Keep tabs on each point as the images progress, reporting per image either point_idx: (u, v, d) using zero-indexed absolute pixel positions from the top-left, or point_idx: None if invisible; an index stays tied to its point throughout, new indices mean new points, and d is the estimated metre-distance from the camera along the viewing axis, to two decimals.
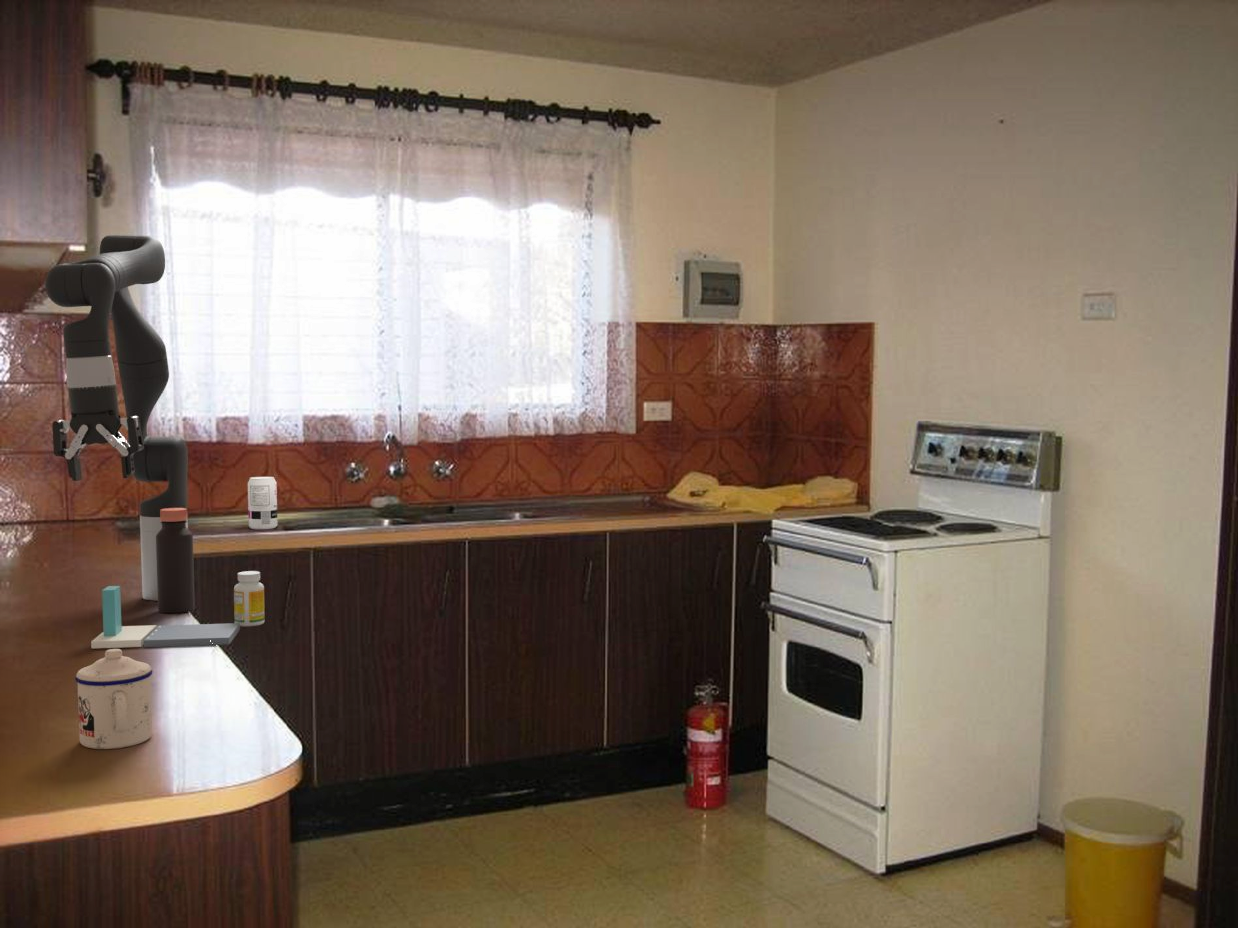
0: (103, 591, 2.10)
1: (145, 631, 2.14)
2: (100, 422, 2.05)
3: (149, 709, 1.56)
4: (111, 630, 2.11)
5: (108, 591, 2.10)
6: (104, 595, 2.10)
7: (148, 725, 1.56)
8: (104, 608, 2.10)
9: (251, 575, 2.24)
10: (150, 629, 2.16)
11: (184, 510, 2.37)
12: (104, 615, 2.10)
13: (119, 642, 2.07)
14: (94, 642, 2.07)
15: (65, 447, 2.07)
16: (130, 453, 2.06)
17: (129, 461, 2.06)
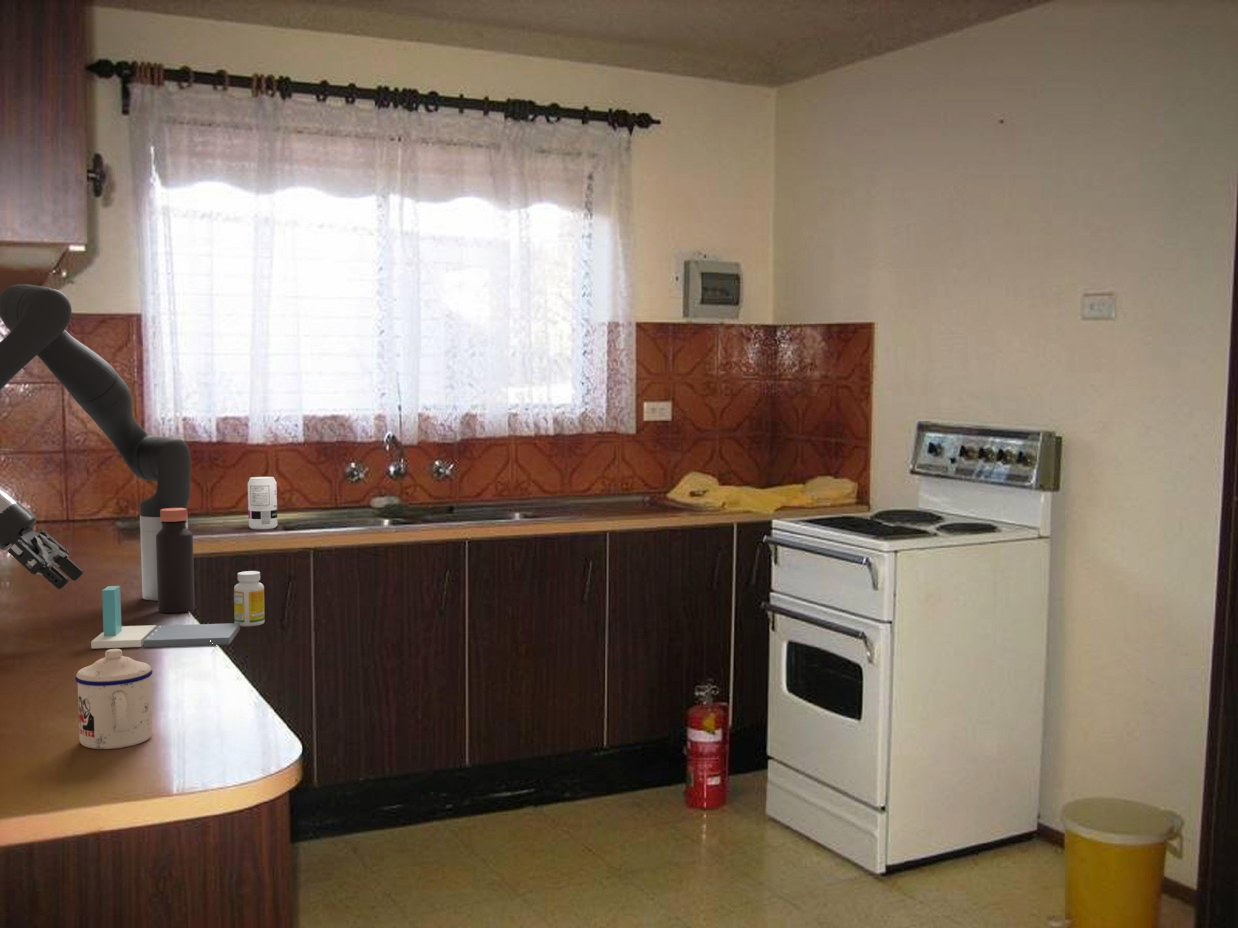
0: (103, 591, 2.10)
1: (145, 631, 2.14)
2: None
3: (149, 709, 1.56)
4: (111, 630, 2.11)
5: (108, 591, 2.10)
6: (104, 595, 2.10)
7: (148, 725, 1.56)
8: (104, 608, 2.10)
9: (251, 575, 2.24)
10: (150, 629, 2.16)
11: (184, 510, 2.37)
12: (104, 615, 2.10)
13: (119, 642, 2.07)
14: (94, 642, 2.07)
15: (60, 550, 2.16)
16: (40, 572, 2.05)
17: (47, 577, 2.05)
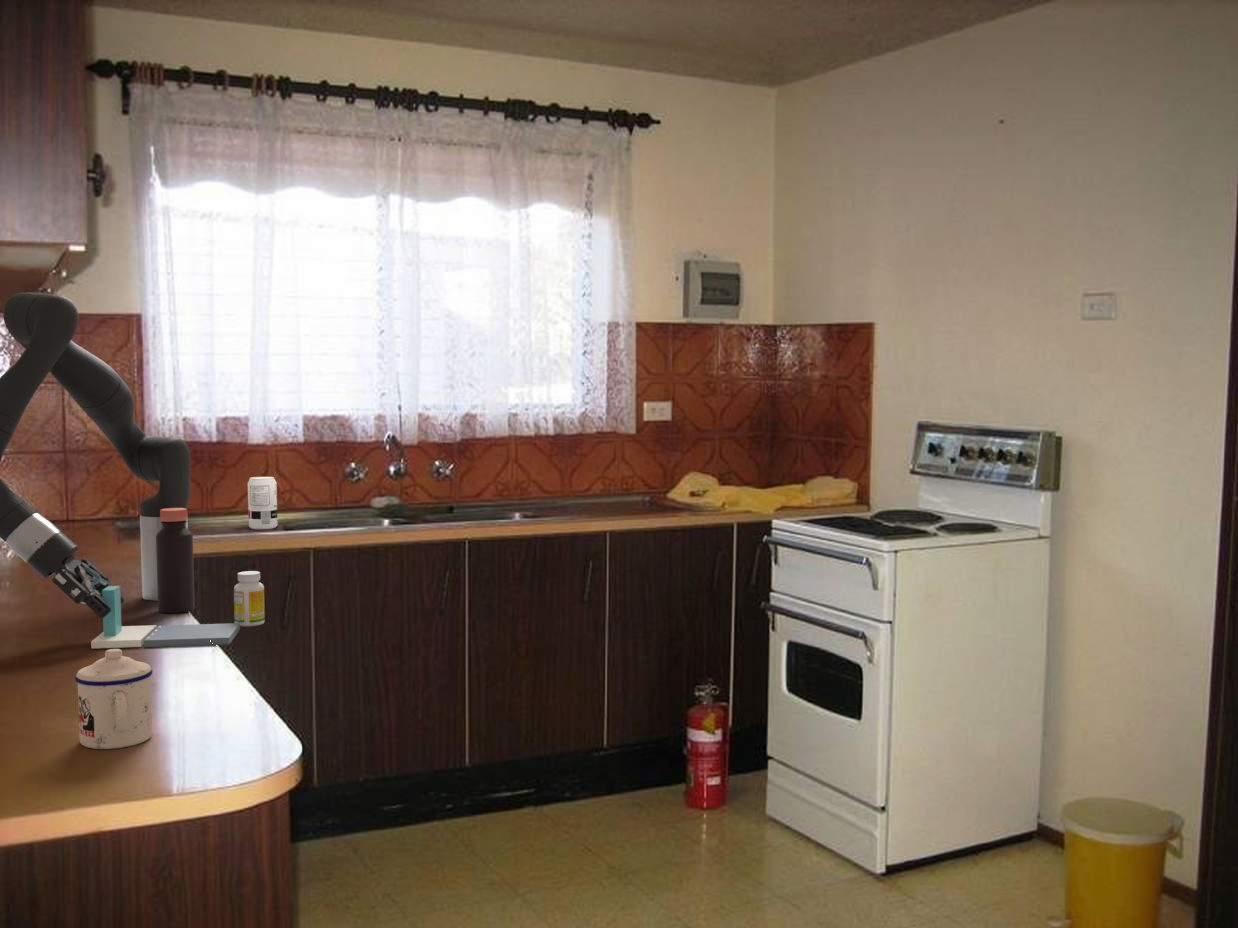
0: (103, 591, 2.10)
1: (145, 631, 2.14)
2: None
3: (149, 709, 1.56)
4: (111, 630, 2.11)
5: (108, 591, 2.10)
6: (104, 595, 2.10)
7: (148, 725, 1.56)
8: None
9: (251, 575, 2.24)
10: (150, 629, 2.16)
11: (184, 510, 2.37)
12: None
13: (119, 642, 2.07)
14: (94, 642, 2.07)
15: (102, 577, 2.17)
16: (83, 601, 2.06)
17: (90, 606, 2.07)
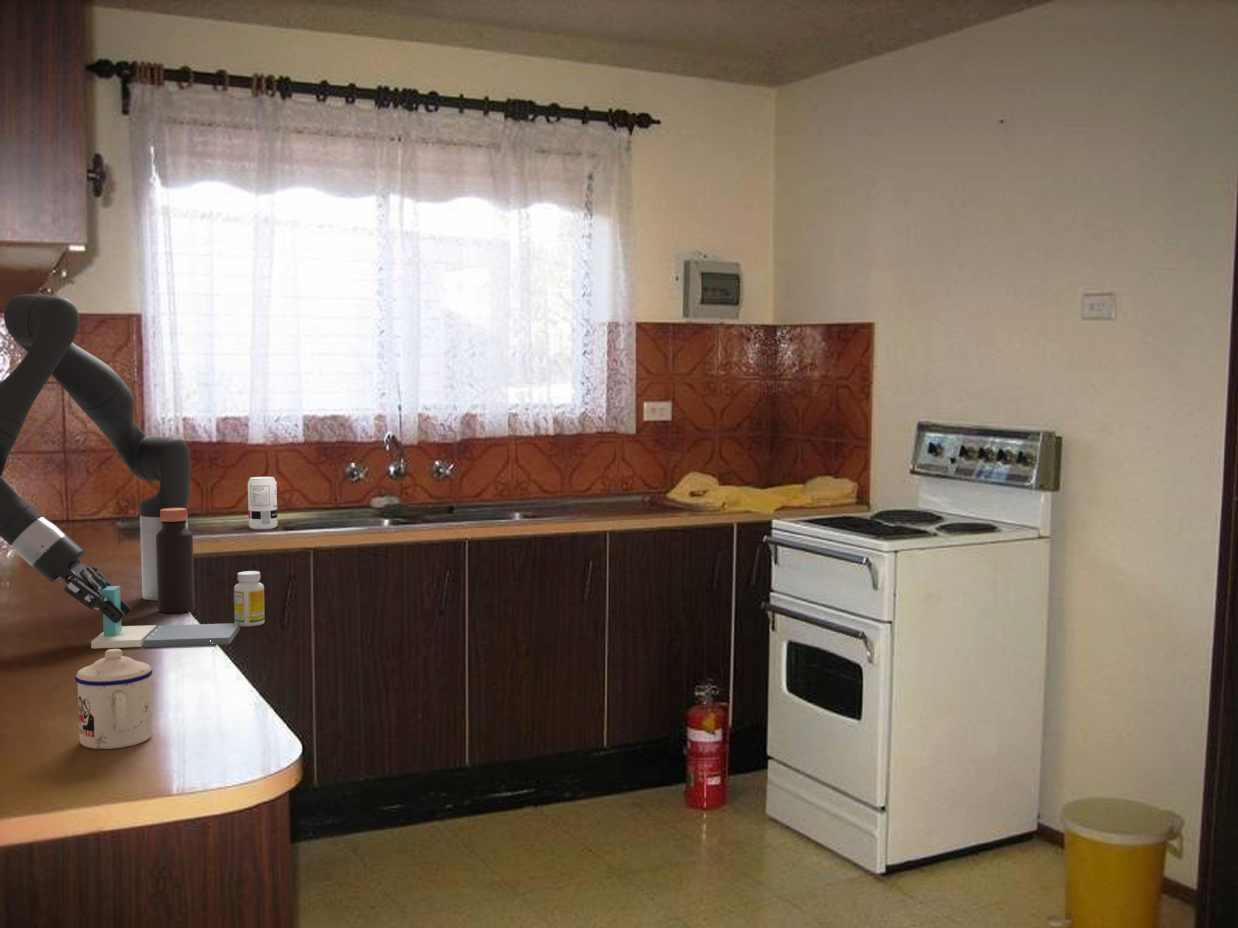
0: (103, 591, 2.10)
1: (145, 631, 2.14)
2: None
3: (149, 709, 1.56)
4: (111, 630, 2.11)
5: (108, 591, 2.10)
6: None
7: (148, 725, 1.56)
8: None
9: (251, 575, 2.24)
10: (150, 629, 2.16)
11: (184, 510, 2.37)
12: (104, 615, 2.10)
13: (119, 642, 2.07)
14: (94, 642, 2.07)
15: None
16: (98, 608, 2.09)
17: (104, 612, 2.09)
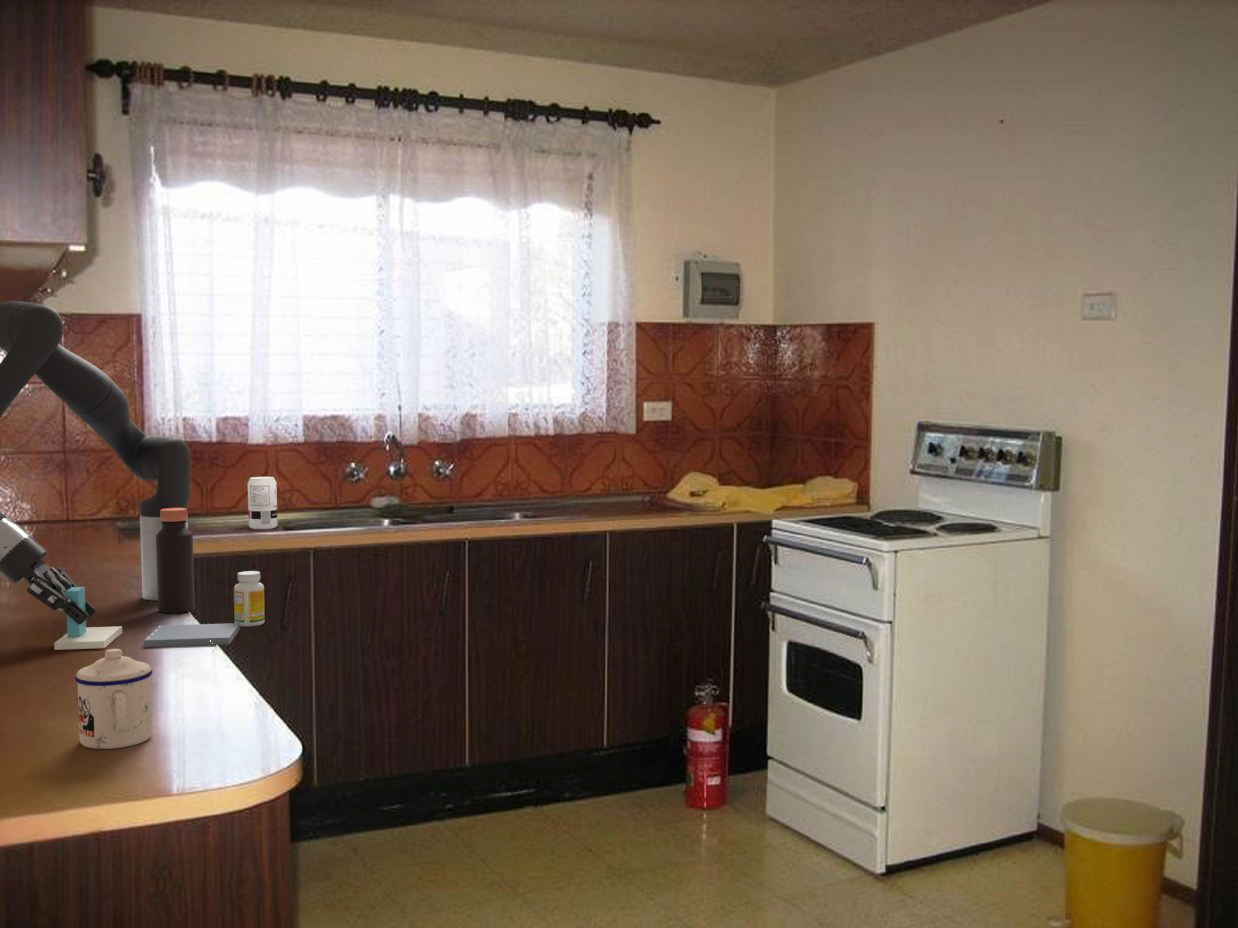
0: (67, 592, 2.09)
1: (110, 632, 2.13)
2: None
3: (149, 709, 1.56)
4: (74, 631, 2.10)
5: (72, 592, 2.09)
6: None
7: (148, 725, 1.56)
8: None
9: (251, 575, 2.24)
10: (115, 630, 2.15)
11: (184, 510, 2.37)
12: (68, 616, 2.09)
13: (82, 643, 2.06)
14: (57, 643, 2.06)
15: None
16: (62, 609, 2.08)
17: (67, 613, 2.08)
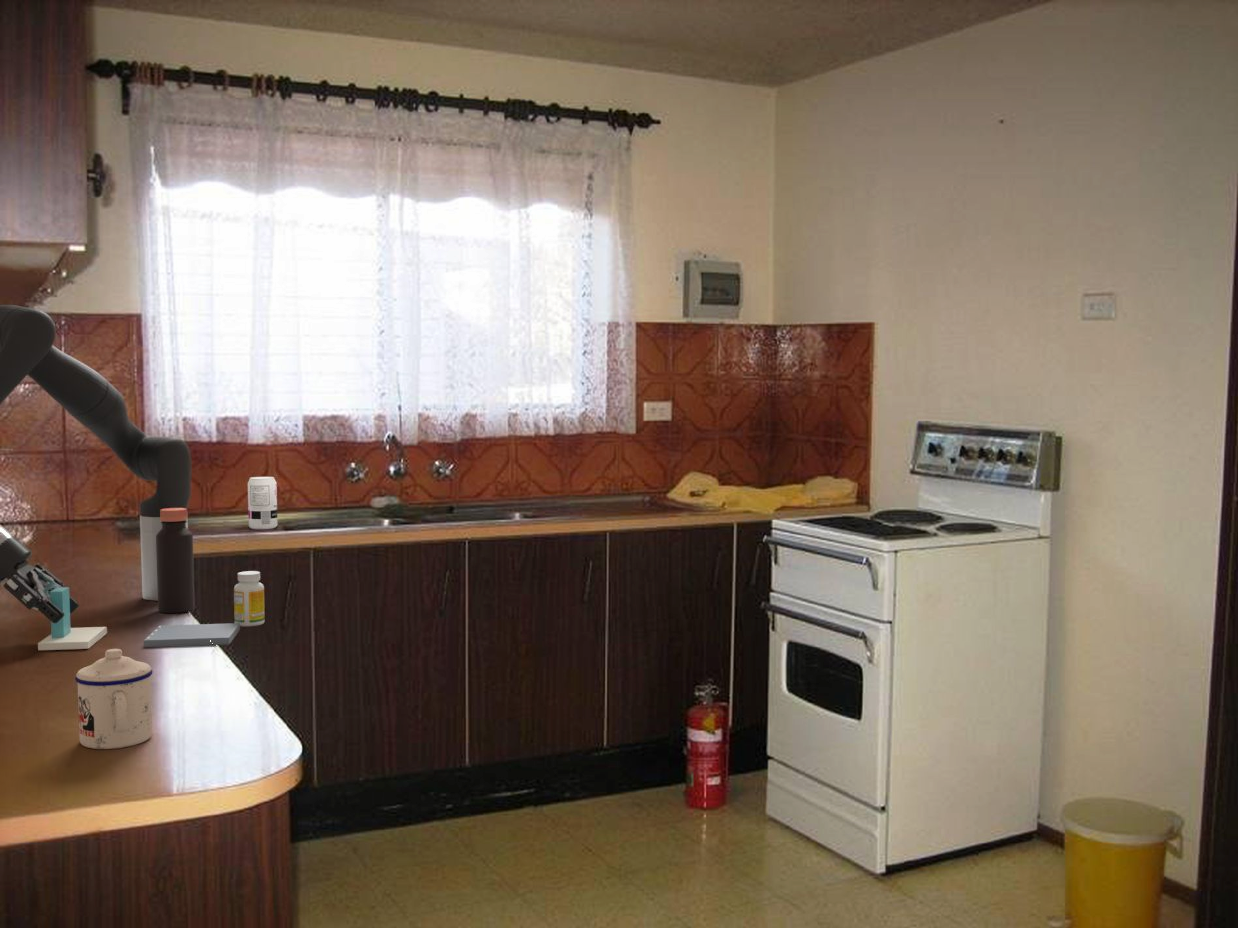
0: (51, 592, 2.09)
1: (94, 633, 2.13)
2: None
3: (149, 709, 1.56)
4: (59, 632, 2.09)
5: (56, 592, 2.09)
6: (52, 596, 2.09)
7: (148, 725, 1.56)
8: None
9: (251, 575, 2.24)
10: (99, 631, 2.15)
11: (184, 510, 2.37)
12: None
13: (66, 643, 2.06)
14: (41, 644, 2.05)
15: (56, 582, 2.16)
16: (36, 607, 2.05)
17: (42, 612, 2.06)
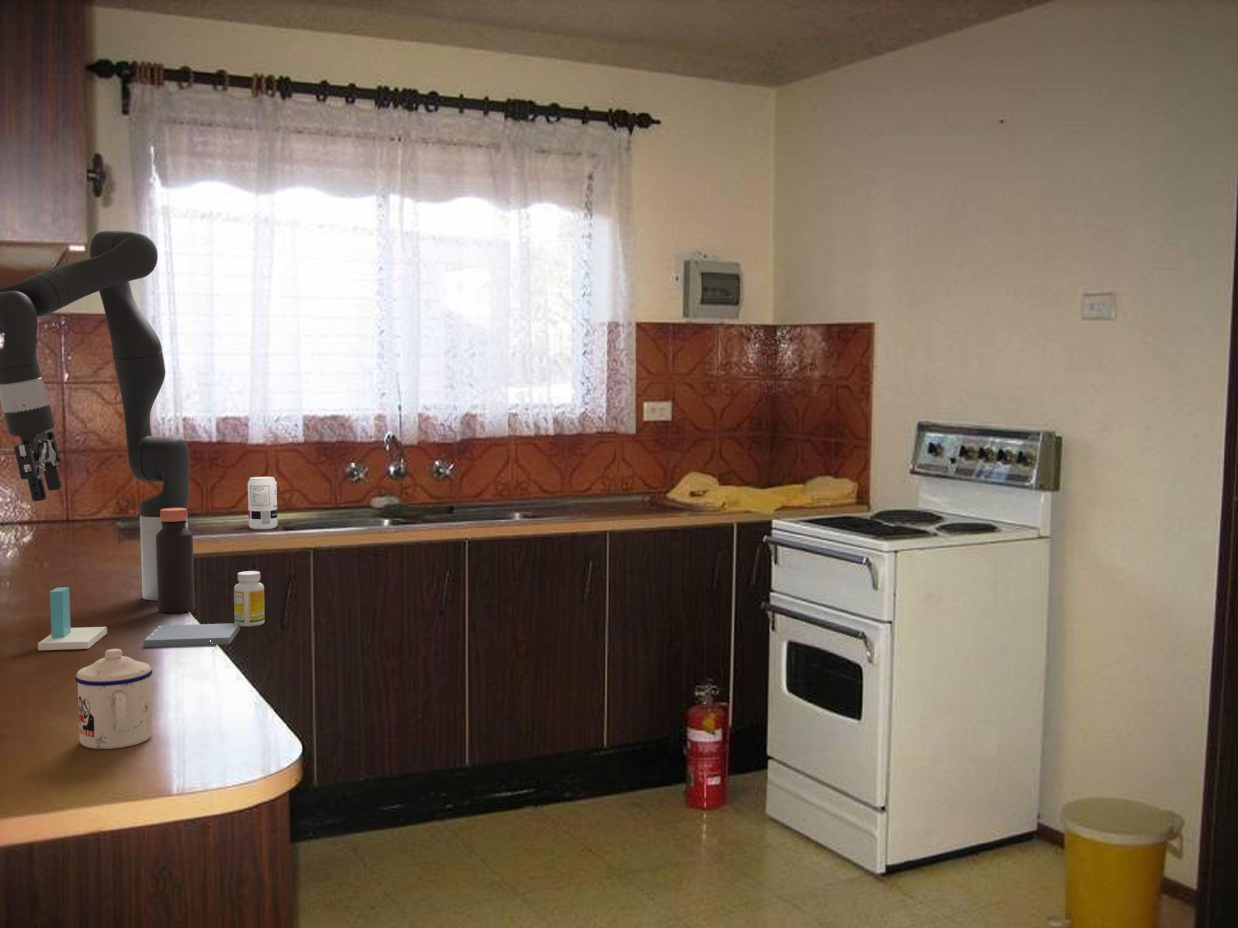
0: (51, 592, 2.09)
1: (94, 633, 2.13)
2: None
3: (149, 709, 1.56)
4: (59, 632, 2.09)
5: (56, 592, 2.09)
6: (52, 596, 2.09)
7: (148, 725, 1.56)
8: (52, 610, 2.09)
9: (251, 575, 2.24)
10: (99, 631, 2.15)
11: (184, 510, 2.37)
12: (52, 617, 2.09)
13: (66, 643, 2.06)
14: (41, 644, 2.05)
15: (55, 456, 2.22)
16: None
17: (30, 486, 2.12)
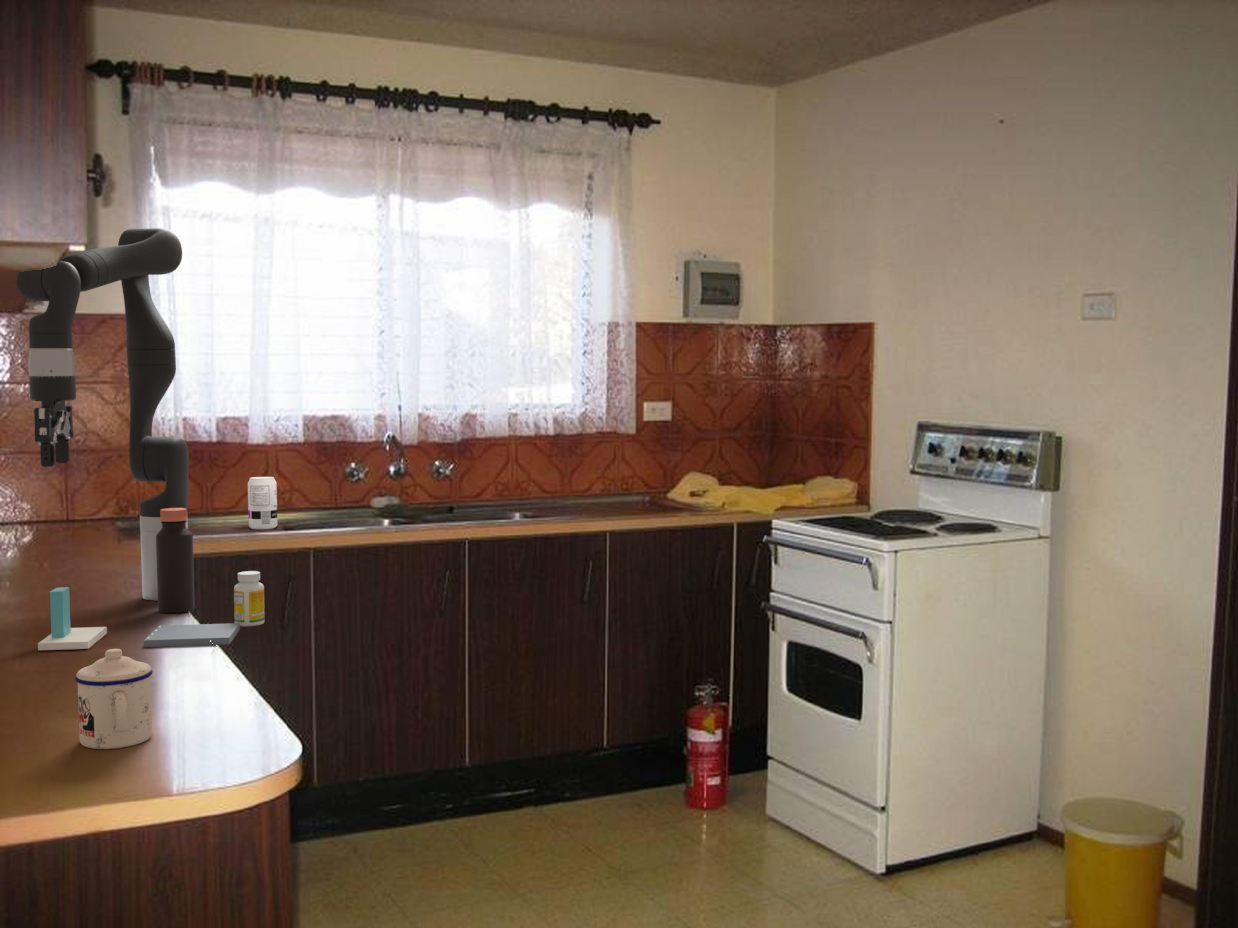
0: (51, 592, 2.09)
1: (94, 633, 2.13)
2: None
3: (149, 709, 1.56)
4: (59, 632, 2.09)
5: (56, 592, 2.09)
6: (52, 596, 2.09)
7: (148, 725, 1.56)
8: (52, 610, 2.09)
9: (251, 575, 2.24)
10: (99, 631, 2.15)
11: (184, 510, 2.37)
12: (52, 617, 2.09)
13: (66, 643, 2.06)
14: (41, 644, 2.05)
15: (69, 431, 2.25)
16: (41, 443, 2.14)
17: (42, 450, 2.14)
